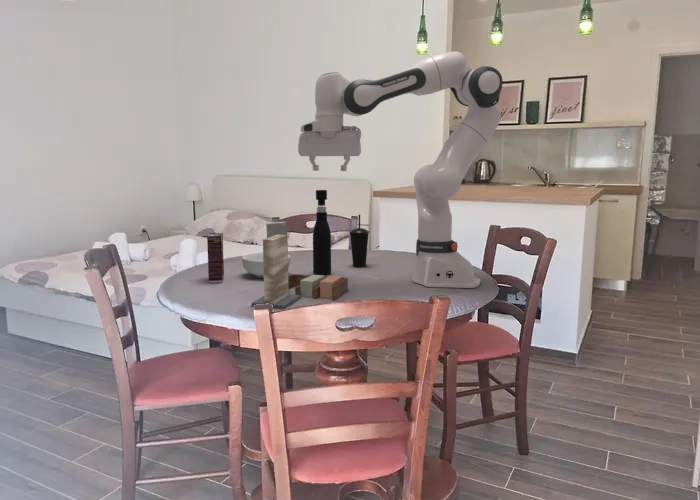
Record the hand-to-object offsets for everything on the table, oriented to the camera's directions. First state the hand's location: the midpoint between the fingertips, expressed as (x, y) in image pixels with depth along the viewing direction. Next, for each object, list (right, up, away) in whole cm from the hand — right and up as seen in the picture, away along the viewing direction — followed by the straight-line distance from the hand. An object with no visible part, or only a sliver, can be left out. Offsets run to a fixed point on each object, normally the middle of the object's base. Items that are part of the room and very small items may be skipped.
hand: (329, 170), depth 172 cm
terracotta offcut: (+1, -39, -7) cm, 40 cm away
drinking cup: (+10, -32, +35) cm, 49 cm away
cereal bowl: (-23, -35, +20) cm, 46 cm away
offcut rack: (-5, -39, -5) cm, 39 cm away
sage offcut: (-5, -39, -6) cm, 40 cm away
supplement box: (-39, -36, +12) cm, 54 cm away
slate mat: (-15, -40, -16) cm, 46 cm away
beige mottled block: (-15, -39, -16) cm, 45 cm away
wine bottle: (-4, -34, +22) cm, 41 cm away
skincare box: (-23, -30, +47) cm, 60 cm away
